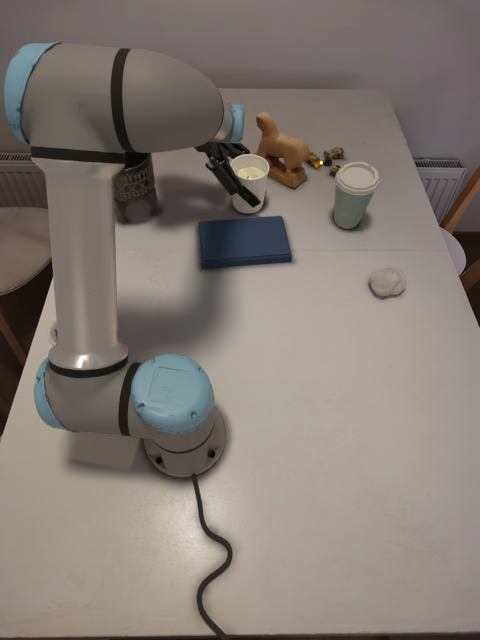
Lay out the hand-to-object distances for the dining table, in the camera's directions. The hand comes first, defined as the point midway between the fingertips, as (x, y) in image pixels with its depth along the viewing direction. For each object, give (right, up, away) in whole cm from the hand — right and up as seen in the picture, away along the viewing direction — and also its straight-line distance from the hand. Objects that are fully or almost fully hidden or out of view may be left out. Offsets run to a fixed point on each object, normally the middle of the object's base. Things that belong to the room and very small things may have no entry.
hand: (260, 192), depth 114 cm
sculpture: (+5, +9, +11) cm, 15 cm away
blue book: (-4, -15, -4) cm, 16 cm away
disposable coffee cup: (+23, -7, +1) cm, 24 cm away
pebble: (+29, -26, -11) cm, 41 cm away
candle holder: (-3, -2, +4) cm, 5 cm away
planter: (-33, -4, +2) cm, 33 cm away
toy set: (+22, +13, +14) cm, 29 cm away
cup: (-40, -41, -23) cm, 62 cm away
